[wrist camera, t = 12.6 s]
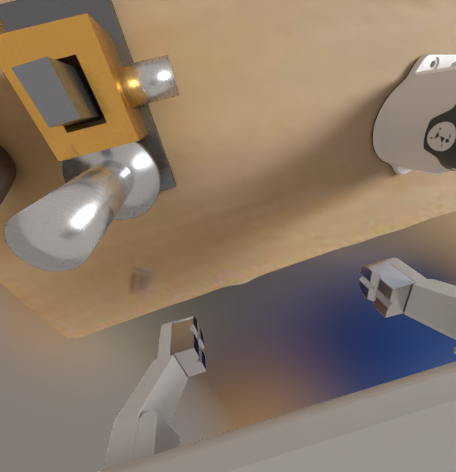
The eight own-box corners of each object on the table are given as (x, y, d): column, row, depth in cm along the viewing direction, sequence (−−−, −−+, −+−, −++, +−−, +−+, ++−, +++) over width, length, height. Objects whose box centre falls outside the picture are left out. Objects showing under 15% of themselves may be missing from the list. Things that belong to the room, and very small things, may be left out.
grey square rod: (98, 75, 28) (46, 56, 18) (116, 114, 30) (80, 117, 20) (75, 82, 28) (11, 67, 18) (95, 121, 30) (49, 127, 20)
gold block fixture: (146, -23, 25) (-20, -578, 5) (203, 179, 38) (224, 262, 18) (2, 11, 25) (-860, -449, 4) (109, 205, 38) (18, 319, 17)
